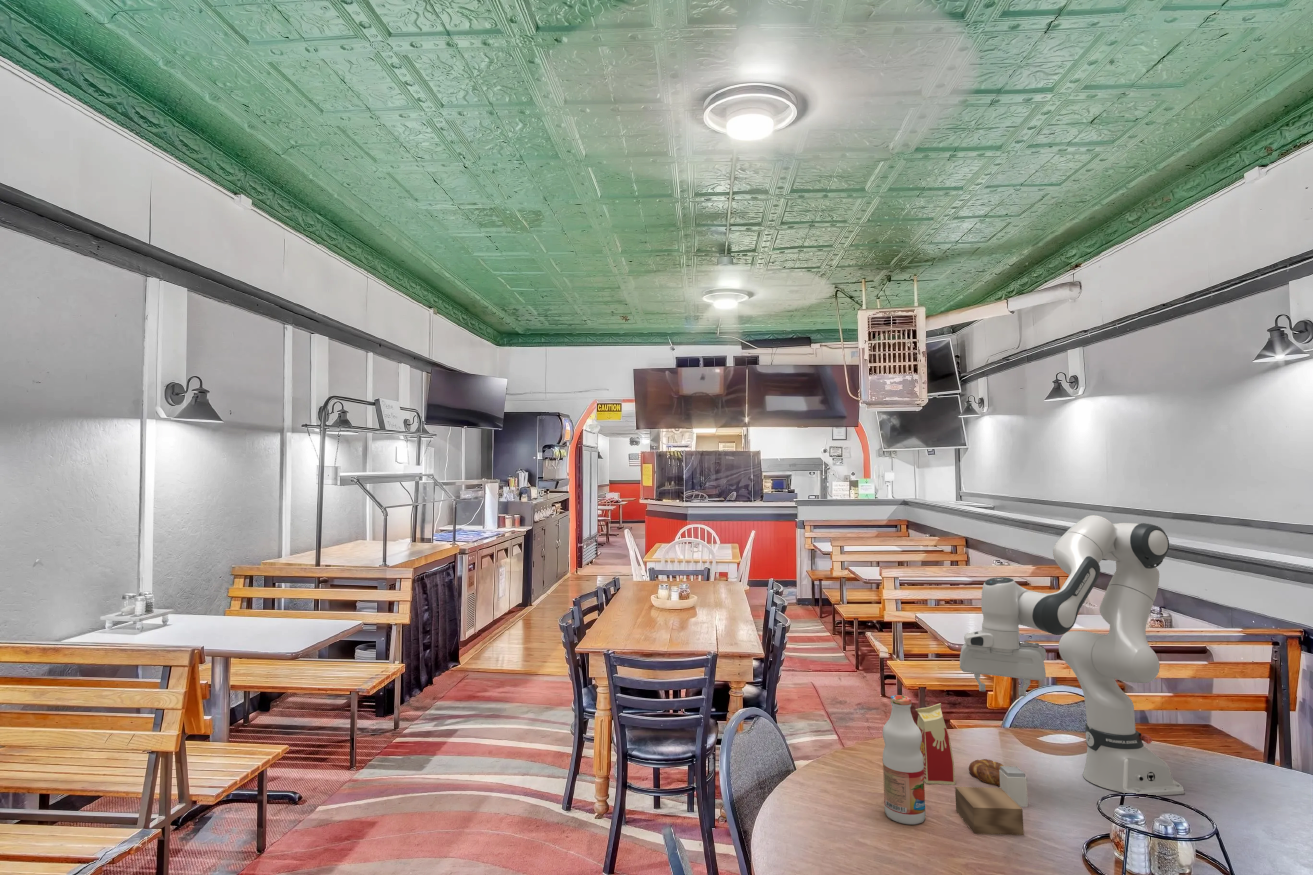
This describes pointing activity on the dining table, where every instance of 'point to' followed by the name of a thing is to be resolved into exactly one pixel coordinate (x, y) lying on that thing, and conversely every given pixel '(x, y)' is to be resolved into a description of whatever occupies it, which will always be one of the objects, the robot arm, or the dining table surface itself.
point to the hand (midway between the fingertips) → (1002, 693)
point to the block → (989, 811)
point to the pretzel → (986, 771)
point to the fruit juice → (903, 765)
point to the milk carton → (935, 746)
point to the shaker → (1014, 784)
